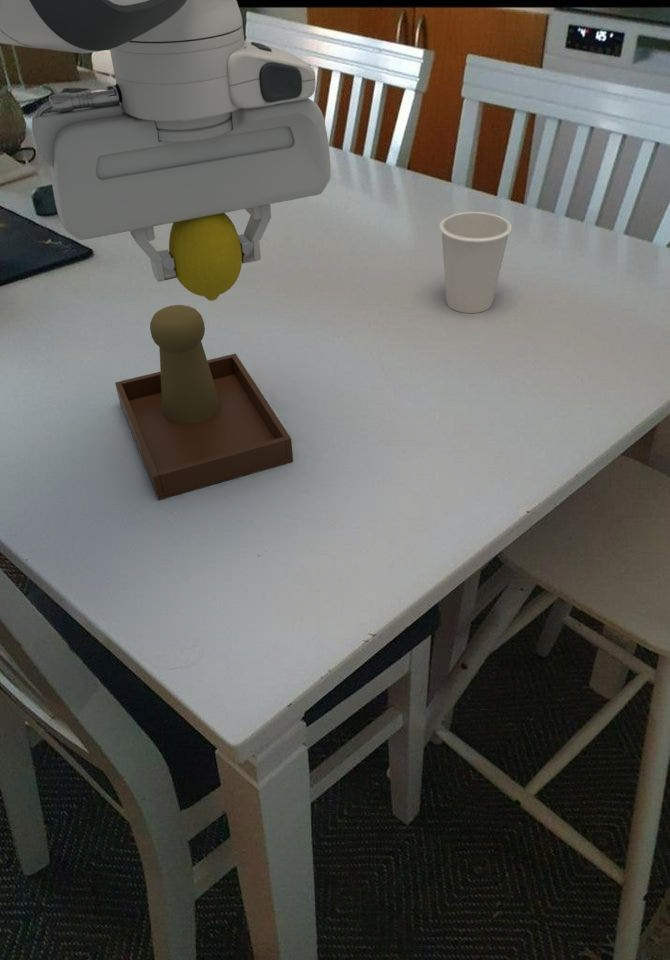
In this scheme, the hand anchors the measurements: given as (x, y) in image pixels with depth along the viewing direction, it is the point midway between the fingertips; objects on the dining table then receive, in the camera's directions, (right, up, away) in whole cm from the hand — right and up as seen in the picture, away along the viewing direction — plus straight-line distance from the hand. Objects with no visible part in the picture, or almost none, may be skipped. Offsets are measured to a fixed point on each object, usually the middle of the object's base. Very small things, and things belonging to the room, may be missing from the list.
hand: (208, 268), depth 64 cm
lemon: (0, -2, +2) cm, 3 cm away
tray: (-4, -12, +18) cm, 22 cm away
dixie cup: (+27, +5, +38) cm, 47 cm away
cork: (-5, -9, +21) cm, 23 cm away
